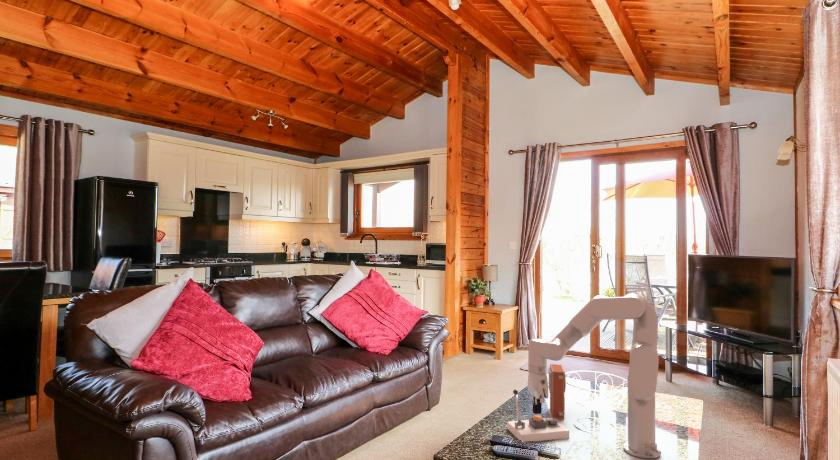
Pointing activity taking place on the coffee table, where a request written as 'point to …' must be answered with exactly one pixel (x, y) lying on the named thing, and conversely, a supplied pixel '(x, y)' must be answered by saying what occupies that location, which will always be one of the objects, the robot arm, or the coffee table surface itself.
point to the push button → (537, 418)
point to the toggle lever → (517, 408)
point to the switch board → (537, 430)
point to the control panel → (557, 391)
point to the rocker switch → (552, 421)
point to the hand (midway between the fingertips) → (537, 413)
